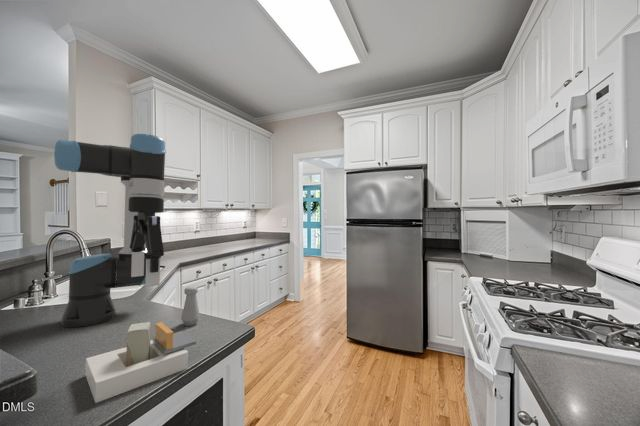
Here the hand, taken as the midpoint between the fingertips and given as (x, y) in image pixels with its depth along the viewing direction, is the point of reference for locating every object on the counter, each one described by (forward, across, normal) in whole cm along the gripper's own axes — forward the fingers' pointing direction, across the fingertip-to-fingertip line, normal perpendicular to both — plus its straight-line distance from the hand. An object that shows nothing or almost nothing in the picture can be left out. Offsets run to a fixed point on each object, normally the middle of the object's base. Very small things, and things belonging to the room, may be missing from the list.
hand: (144, 280), depth 69 cm
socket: (+22, +2, -1) cm, 22 cm away
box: (+22, +2, -1) cm, 22 cm away
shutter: (+17, +2, +7) cm, 19 cm away
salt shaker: (+22, -20, +20) cm, 36 cm away
